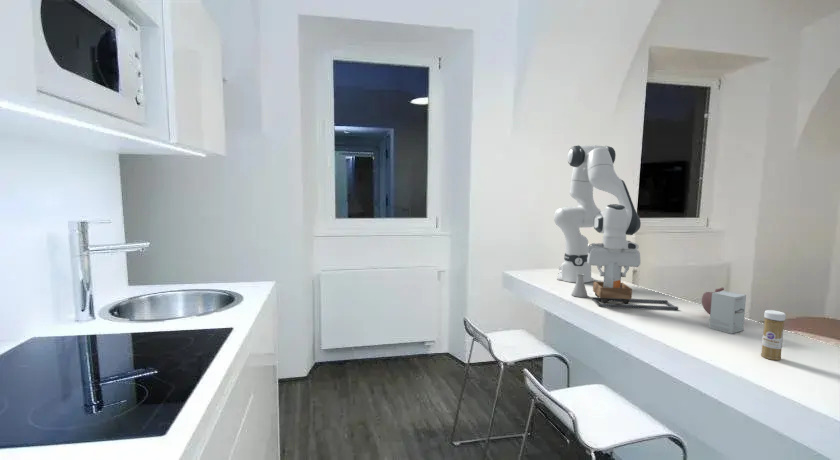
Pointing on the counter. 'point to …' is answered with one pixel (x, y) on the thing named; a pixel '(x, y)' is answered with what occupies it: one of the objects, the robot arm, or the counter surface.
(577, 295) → the flask
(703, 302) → the mortar and pestle
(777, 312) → the sprinkles bottle
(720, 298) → the supplement box
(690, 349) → the counter surface
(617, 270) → the skincare box
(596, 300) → the rail track
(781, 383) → the counter surface
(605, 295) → the cart
